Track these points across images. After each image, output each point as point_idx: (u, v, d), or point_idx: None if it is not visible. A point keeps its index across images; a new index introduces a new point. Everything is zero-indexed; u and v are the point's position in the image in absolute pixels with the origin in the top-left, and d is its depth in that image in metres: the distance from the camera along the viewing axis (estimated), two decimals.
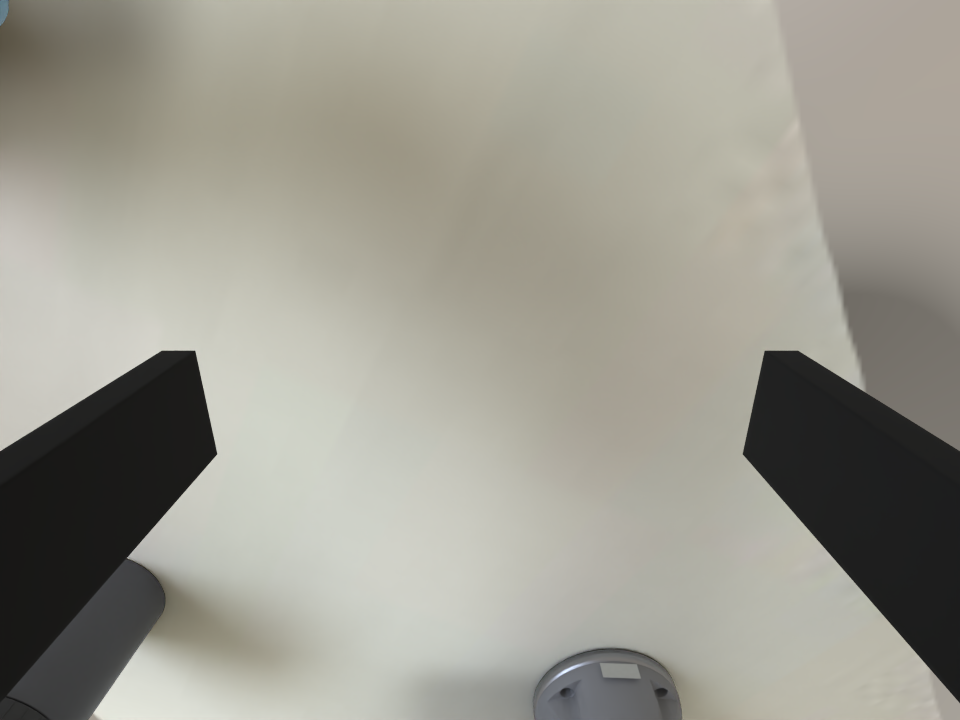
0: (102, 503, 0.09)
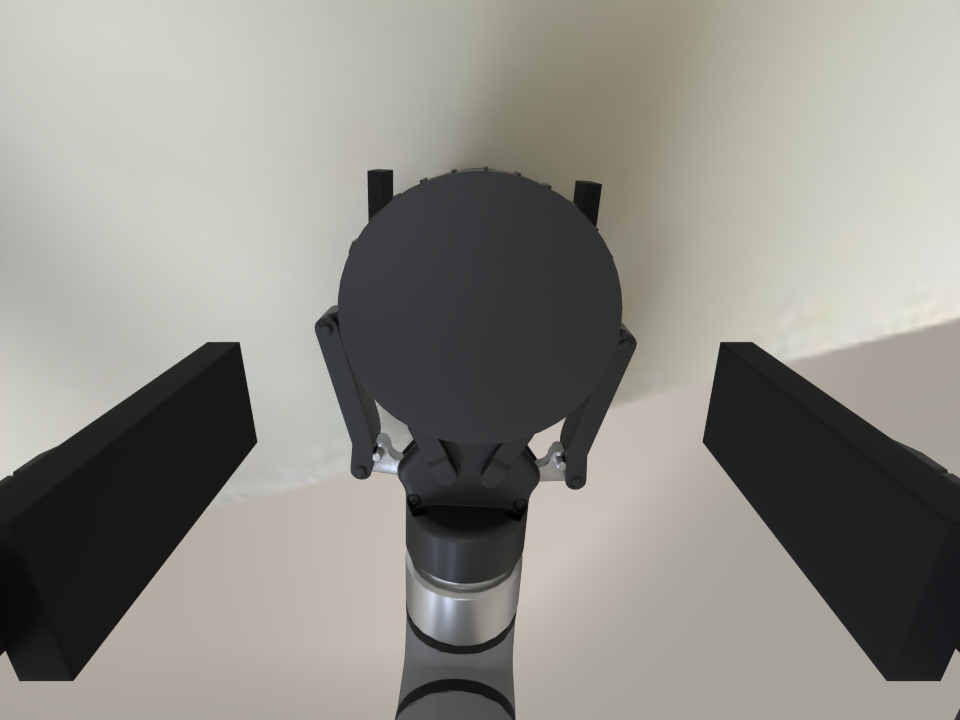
0: (165, 484, 0.09)
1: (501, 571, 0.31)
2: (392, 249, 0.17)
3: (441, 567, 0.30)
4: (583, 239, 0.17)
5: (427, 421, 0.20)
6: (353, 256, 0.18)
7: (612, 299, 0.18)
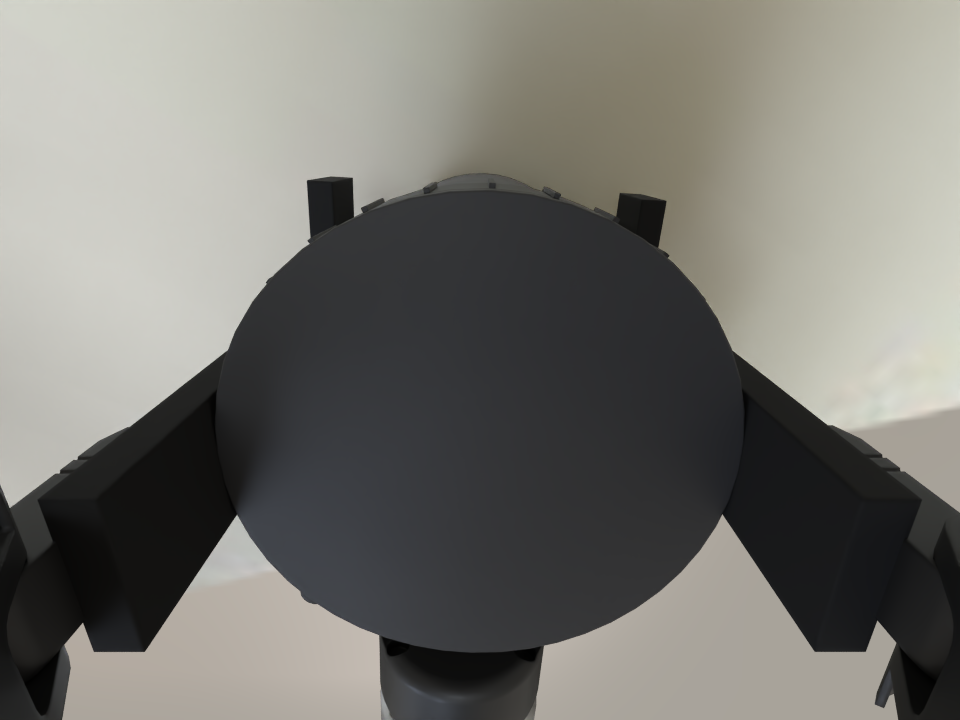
0: (217, 469, 0.10)
1: None
2: (311, 339, 0.09)
3: None
4: (680, 321, 0.09)
5: (388, 619, 0.11)
6: (236, 351, 0.09)
7: (727, 427, 0.10)
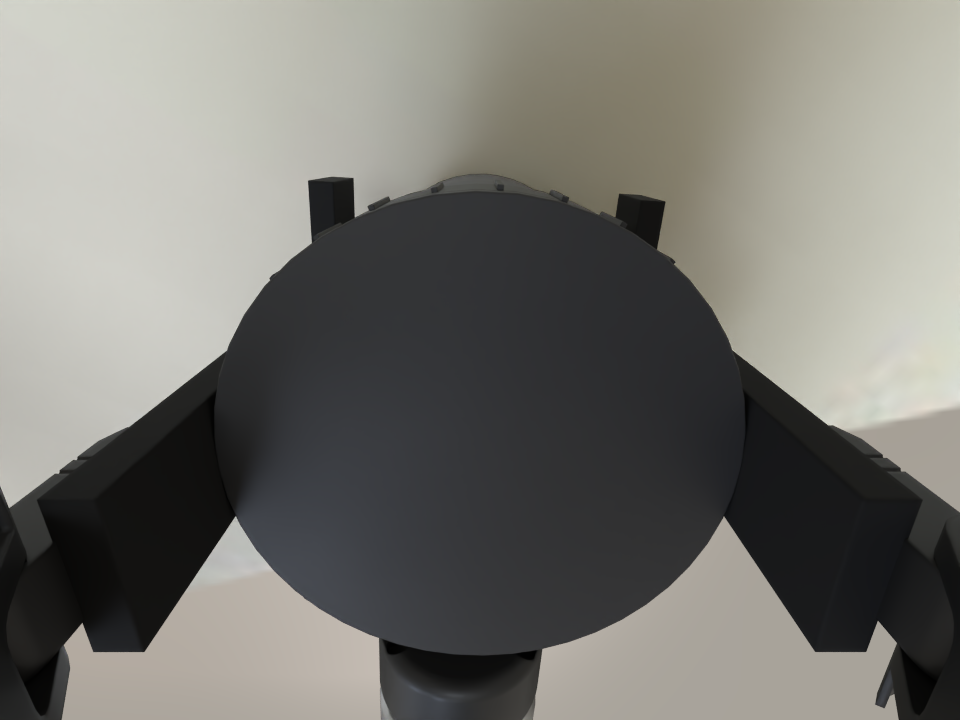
0: (216, 470, 0.10)
1: None
2: (348, 577, 0.11)
3: None
4: (323, 276, 0.09)
5: (663, 562, 0.11)
6: (360, 624, 0.11)
7: (452, 214, 0.08)
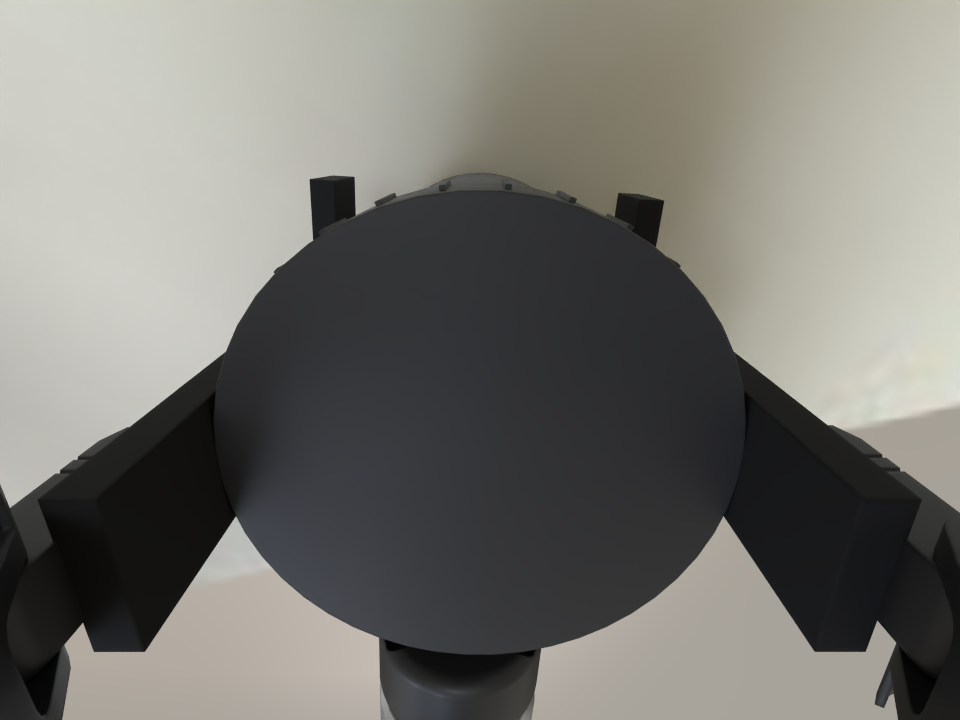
0: (217, 469, 0.10)
1: None
2: (597, 585, 0.11)
3: None
4: (292, 560, 0.11)
5: (637, 278, 0.09)
6: (661, 584, 0.11)
7: (235, 468, 0.10)
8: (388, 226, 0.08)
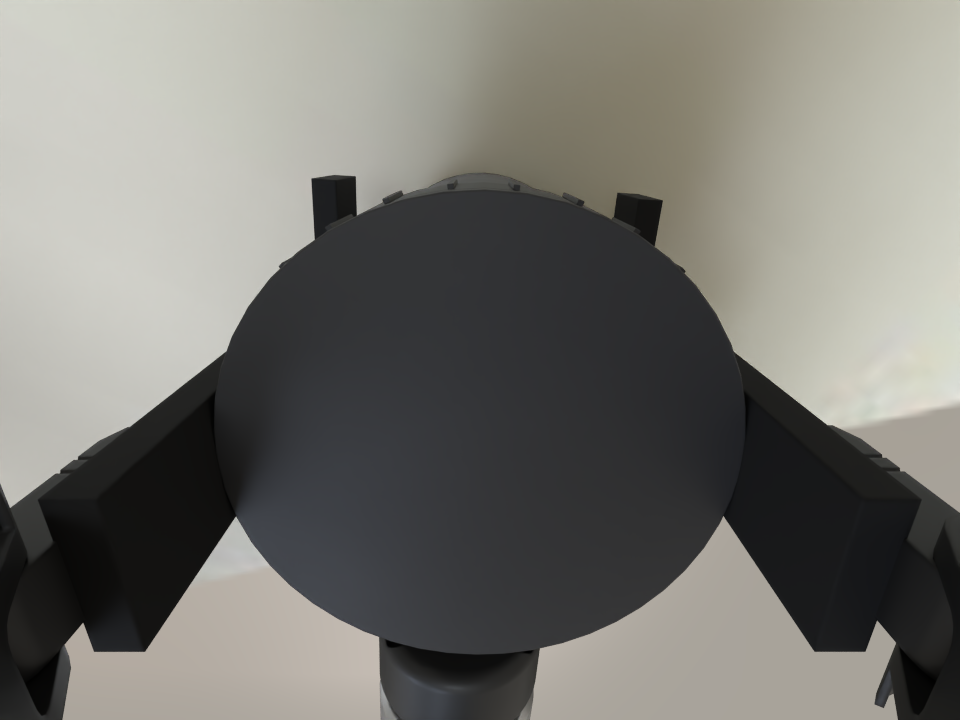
0: (217, 469, 0.10)
1: None
2: (660, 355, 0.09)
3: None
4: (569, 623, 0.11)
5: (281, 320, 0.09)
6: (676, 279, 0.09)
7: (465, 644, 0.12)
8: (250, 512, 0.10)
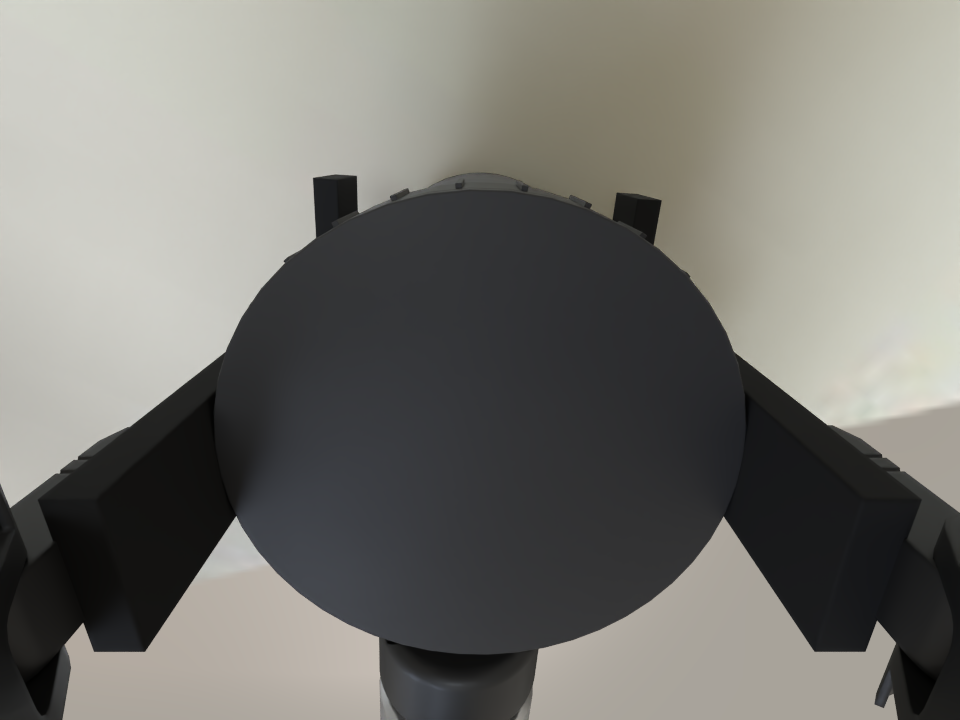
0: (217, 469, 0.10)
1: (506, 718, 0.23)
2: (362, 295, 0.09)
3: (424, 716, 0.22)
4: (713, 387, 0.09)
5: (331, 591, 0.11)
6: (279, 282, 0.09)
7: (716, 495, 0.10)
8: (512, 643, 0.12)
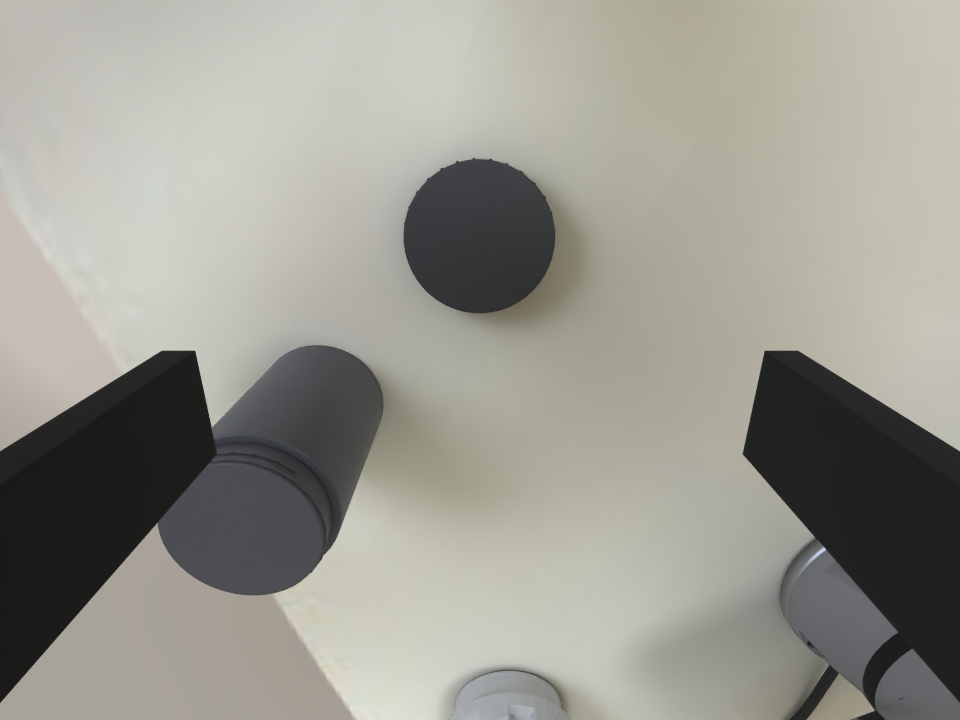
0: (102, 503, 0.09)
1: None
2: (448, 187, 0.33)
3: None
4: (543, 215, 0.34)
5: (433, 286, 0.36)
6: (427, 184, 0.33)
7: (548, 251, 0.35)
8: (489, 308, 0.36)
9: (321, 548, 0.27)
